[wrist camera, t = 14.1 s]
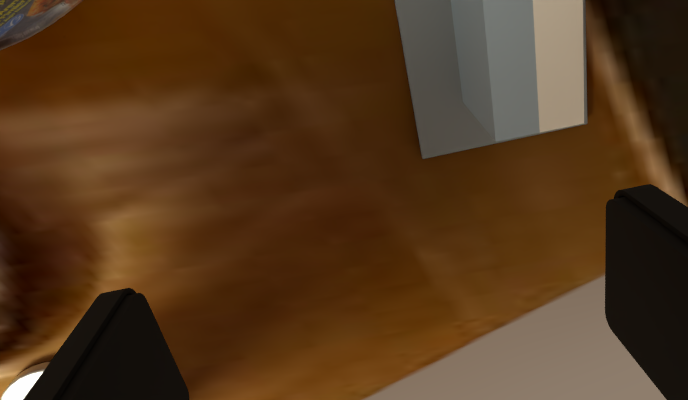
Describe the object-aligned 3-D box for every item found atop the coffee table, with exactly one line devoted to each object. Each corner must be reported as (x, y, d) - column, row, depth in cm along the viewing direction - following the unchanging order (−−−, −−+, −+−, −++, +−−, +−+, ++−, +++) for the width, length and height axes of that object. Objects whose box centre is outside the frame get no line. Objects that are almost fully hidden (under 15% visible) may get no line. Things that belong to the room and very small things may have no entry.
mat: (583, 120, 30) (587, 123, 30) (421, 155, 31) (422, 159, 31) (577, -173, 24) (582, -176, 23) (374, -118, 25) (374, -119, 24)
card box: (521, -87, 25) (581, -102, 19) (531, 87, 29) (584, 123, 23) (442, -68, 25) (475, -76, 19) (462, 102, 29) (495, 141, 23)
